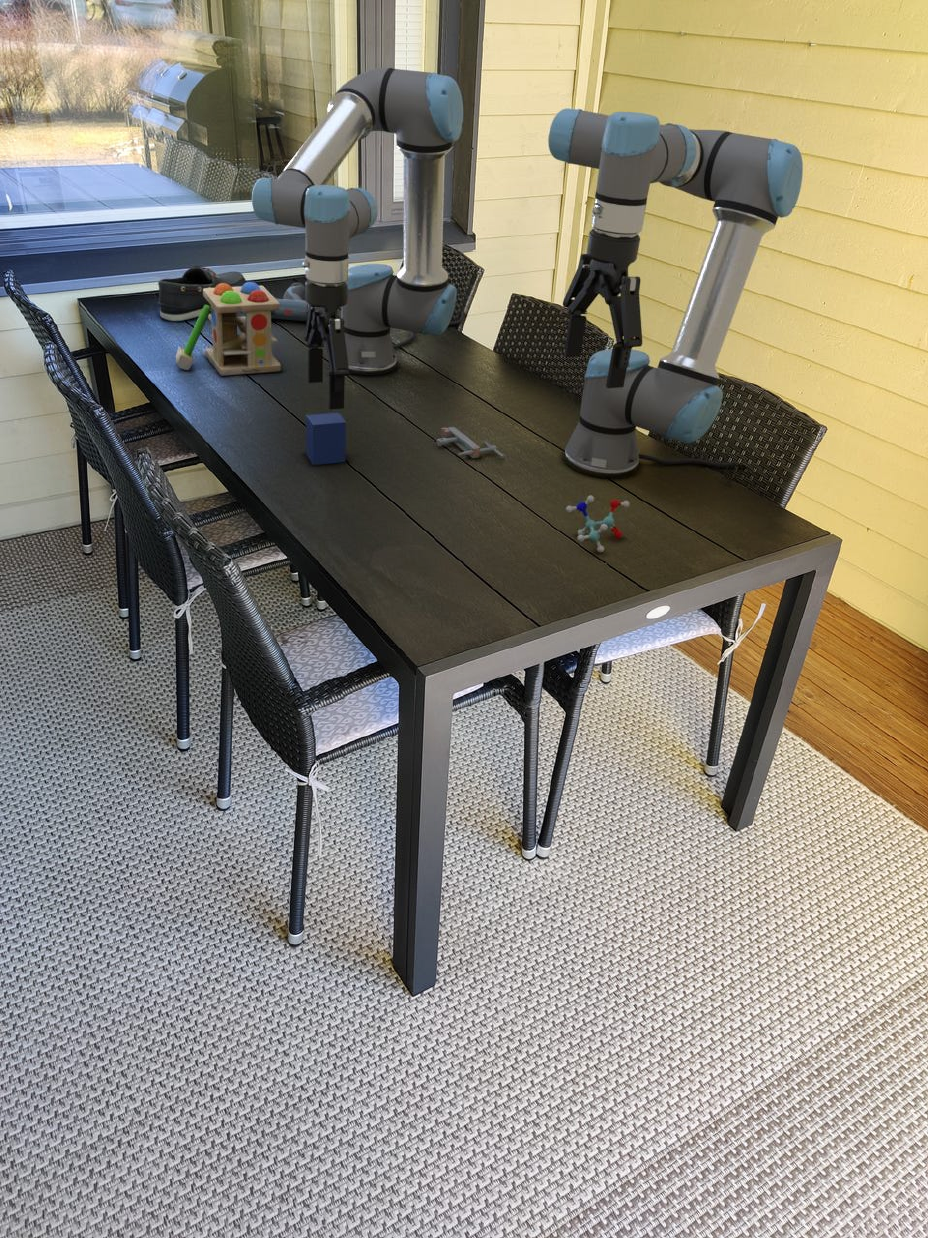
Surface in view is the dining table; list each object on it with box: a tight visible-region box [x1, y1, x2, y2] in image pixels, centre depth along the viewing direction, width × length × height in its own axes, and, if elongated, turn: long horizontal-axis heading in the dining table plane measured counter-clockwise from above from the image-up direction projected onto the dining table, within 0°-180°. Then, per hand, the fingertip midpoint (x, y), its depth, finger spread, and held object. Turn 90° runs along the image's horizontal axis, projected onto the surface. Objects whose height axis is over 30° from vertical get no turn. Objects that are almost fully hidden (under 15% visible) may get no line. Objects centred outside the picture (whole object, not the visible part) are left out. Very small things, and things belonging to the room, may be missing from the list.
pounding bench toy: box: [174, 281, 282, 377], centre depth 225 cm, size 23×14×18 cm, turn 116°
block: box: [305, 412, 347, 466], centre depth 191 cm, size 5×6×8 cm
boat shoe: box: [157, 265, 247, 322], centre depth 263 cm, size 13×33×10 cm, turn 147°
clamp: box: [436, 426, 507, 460], centre depth 201 cm, size 15×2×10 cm
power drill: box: [271, 282, 309, 322], centre depth 265 cm, size 5×19×20 cm
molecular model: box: [565, 495, 630, 554], centre depth 173 cm, size 12×10×10 cm
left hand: (325, 394), depth 186 cm, fingers open, 13 cm apart
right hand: (592, 371), depth 156 cm, fingers open, 13 cm apart
